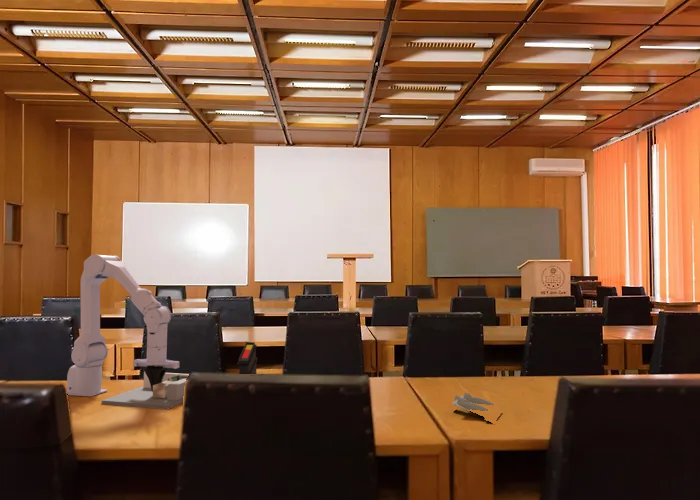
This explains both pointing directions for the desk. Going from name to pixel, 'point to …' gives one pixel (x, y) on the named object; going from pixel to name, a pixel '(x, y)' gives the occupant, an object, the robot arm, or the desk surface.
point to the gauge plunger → (162, 388)
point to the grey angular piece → (470, 402)
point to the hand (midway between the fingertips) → (155, 391)
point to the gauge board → (145, 394)
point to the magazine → (248, 359)
